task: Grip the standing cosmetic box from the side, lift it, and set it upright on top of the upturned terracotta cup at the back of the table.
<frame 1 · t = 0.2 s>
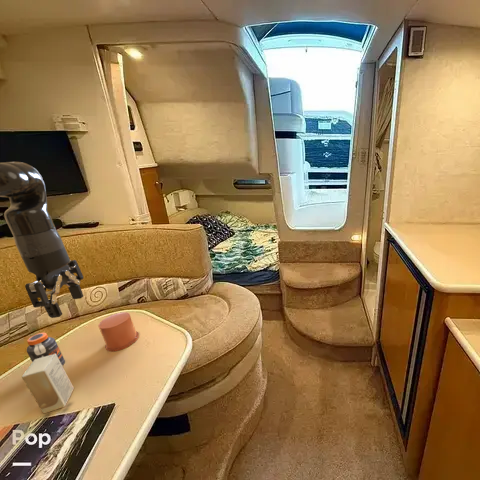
hand: (68, 306, 69), 22 cm above the table, tool pointing down, fingers open, 8 cm apart
cosmetic box: (59, 401, 69), on the table
upturned cup: (122, 341, 89), on the table
pill bottle: (52, 368, 80), on the table
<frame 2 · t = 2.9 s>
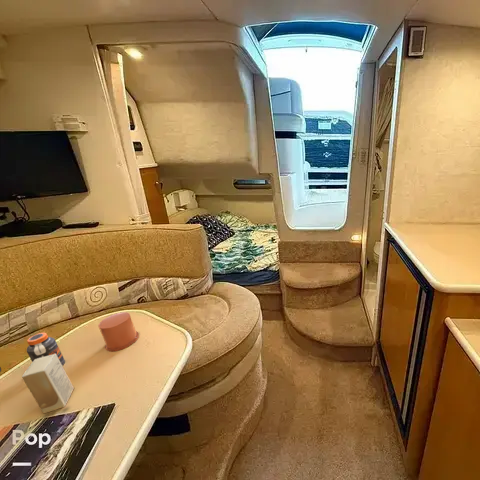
nothing on the table moved.
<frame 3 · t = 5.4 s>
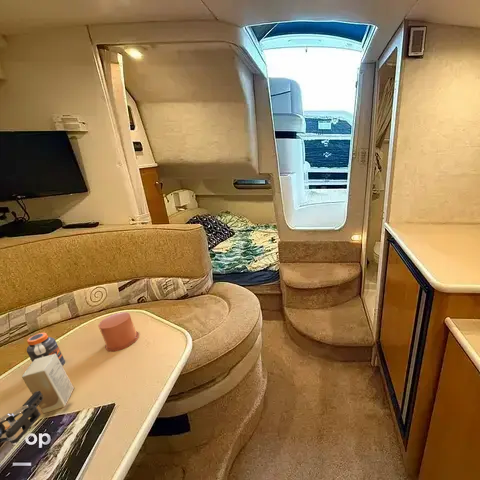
hand: (17, 398, 58), 10 cm above the table, tool horizontal, fingers open, 8 cm apart
nothing on the table moved.
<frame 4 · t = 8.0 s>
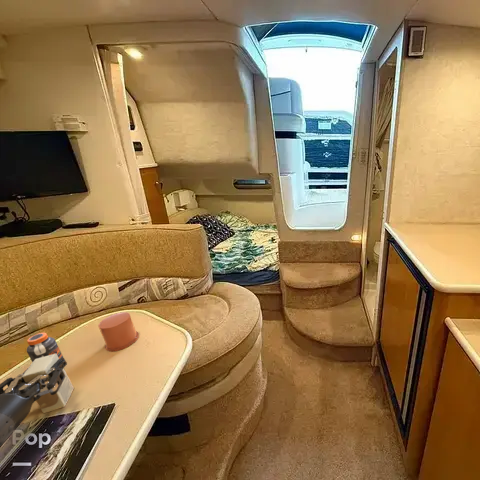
hand: (50, 363, 68), 10 cm above the table, tool horizontal, fingers closed on cosmetic box, 5 cm apart
cosmetic box: (59, 401, 69), on the table, touching gripper
everything else where it was.
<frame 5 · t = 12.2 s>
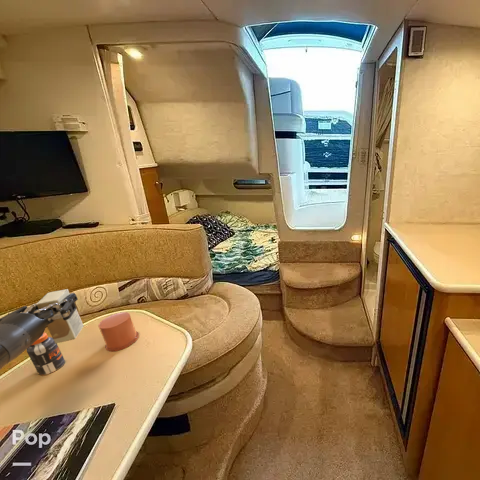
hand: (62, 298, 71), 24 cm above the table, tool horizontal, fingers closed on cosmetic box, 5 cm apart
cosmetic box: (70, 335, 72), point 13 cm above the table, touching gripper
everything else where it was.
when the fingers open (19 cm above the table, at t = 16.3 s): cosmetic box stays where it is, resting on upturned cup.
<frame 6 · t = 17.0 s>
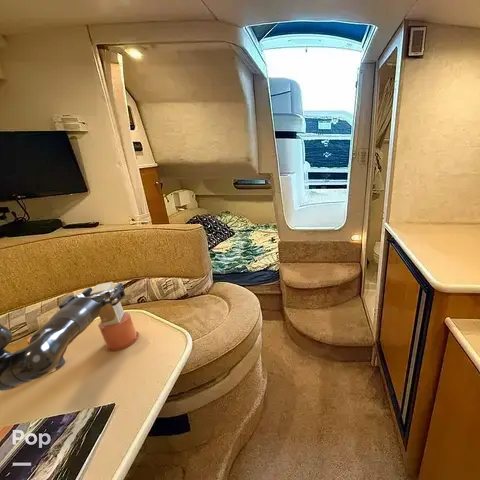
hand: (106, 287, 84), 19 cm above the table, tool horizontal, fingers open, 8 cm apart
cosmetic box: (114, 320, 86), point 8 cm above the table, touching upturned cup
everything else where it was.
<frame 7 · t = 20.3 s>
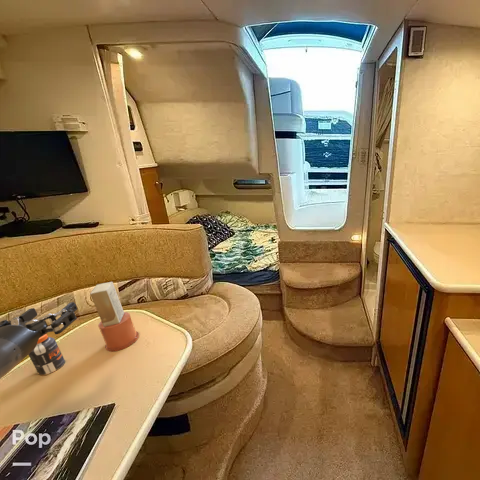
hand: (54, 308, 67), 24 cm above the table, tool horizontal, fingers open, 8 cm apart
nothing on the table moved.
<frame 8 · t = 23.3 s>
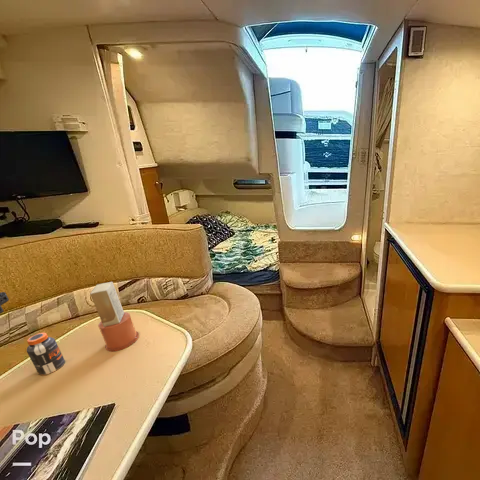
nothing on the table moved.
at the end: cosmetic box 0.1 cm off-centre on the upturned cup, point 8.4 cm above the upturned cup's base; cosmetic box tilted 0°; the gripper is holding nothing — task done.
